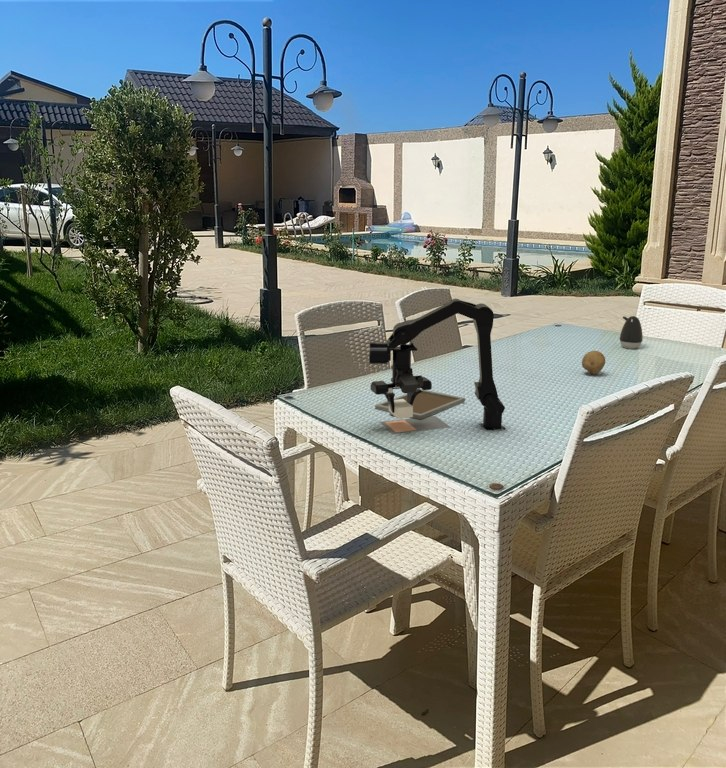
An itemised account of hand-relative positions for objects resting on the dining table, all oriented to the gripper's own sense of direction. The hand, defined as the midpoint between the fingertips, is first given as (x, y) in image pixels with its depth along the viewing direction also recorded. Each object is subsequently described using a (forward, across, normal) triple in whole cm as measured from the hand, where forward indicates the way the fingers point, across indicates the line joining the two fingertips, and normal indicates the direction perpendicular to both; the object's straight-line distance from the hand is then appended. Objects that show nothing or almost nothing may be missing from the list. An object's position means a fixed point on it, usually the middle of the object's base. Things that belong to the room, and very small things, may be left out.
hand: (400, 411), depth 230 cm
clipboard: (+5, +14, +18) cm, 23 cm away
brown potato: (+6, +99, +37) cm, 106 cm away
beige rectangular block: (+1, 0, 0) cm, 1 cm away
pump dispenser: (+6, +146, +73) cm, 163 cm away
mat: (+6, +5, 0) cm, 7 cm away
